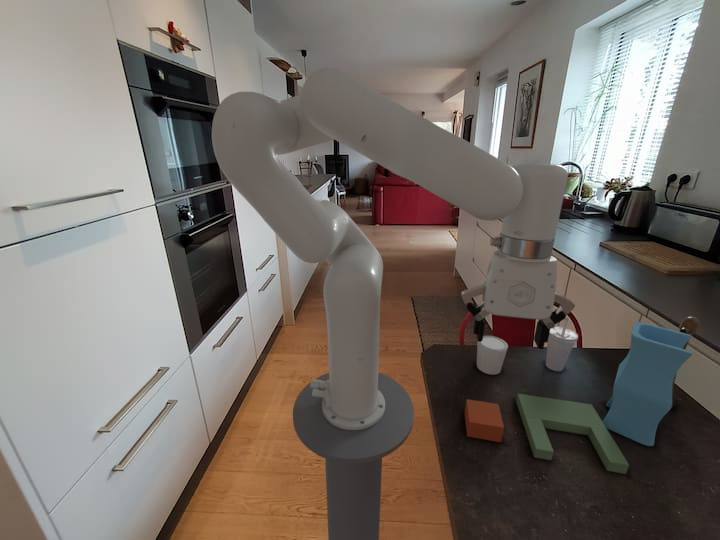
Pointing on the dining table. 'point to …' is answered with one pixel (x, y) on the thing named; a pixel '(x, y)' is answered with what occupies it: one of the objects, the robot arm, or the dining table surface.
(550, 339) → the smoothie
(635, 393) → the vase
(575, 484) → the dining table surface
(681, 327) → the wooden tabletop sculpture
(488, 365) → the shot glass
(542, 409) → the green flat bent piece
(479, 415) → the orange block
